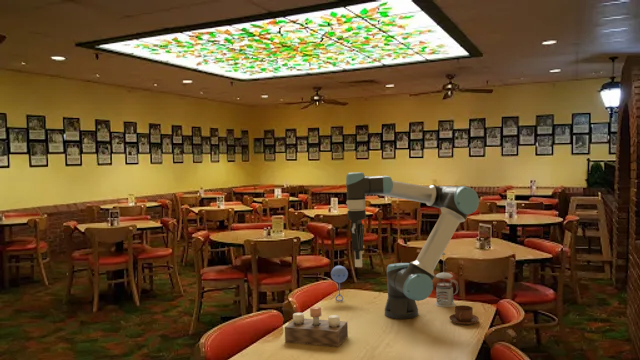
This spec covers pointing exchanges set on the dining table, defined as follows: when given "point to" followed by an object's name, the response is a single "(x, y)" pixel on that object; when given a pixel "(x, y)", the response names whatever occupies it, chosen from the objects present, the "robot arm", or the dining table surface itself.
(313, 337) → the knob console
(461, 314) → the cup and saucer
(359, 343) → the dining table surface
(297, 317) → the knob far
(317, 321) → the knob middle
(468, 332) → the dining table surface
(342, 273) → the baby rattle
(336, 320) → the knob near
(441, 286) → the french press
